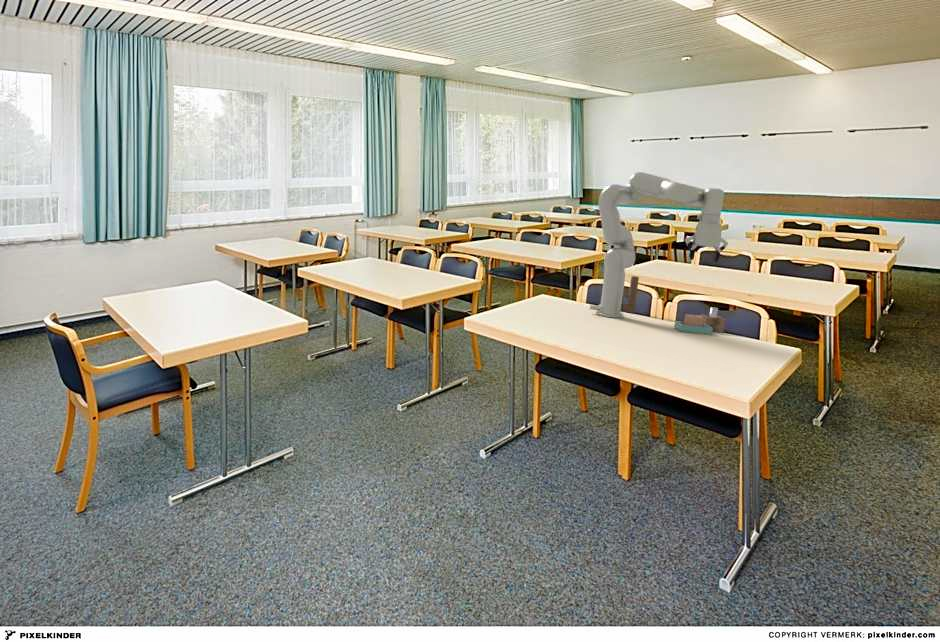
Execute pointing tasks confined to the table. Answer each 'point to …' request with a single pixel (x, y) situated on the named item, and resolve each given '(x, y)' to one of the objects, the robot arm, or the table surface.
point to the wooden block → (630, 296)
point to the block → (693, 320)
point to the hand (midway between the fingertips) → (703, 260)
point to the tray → (693, 328)
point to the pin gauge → (713, 312)
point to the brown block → (714, 323)
